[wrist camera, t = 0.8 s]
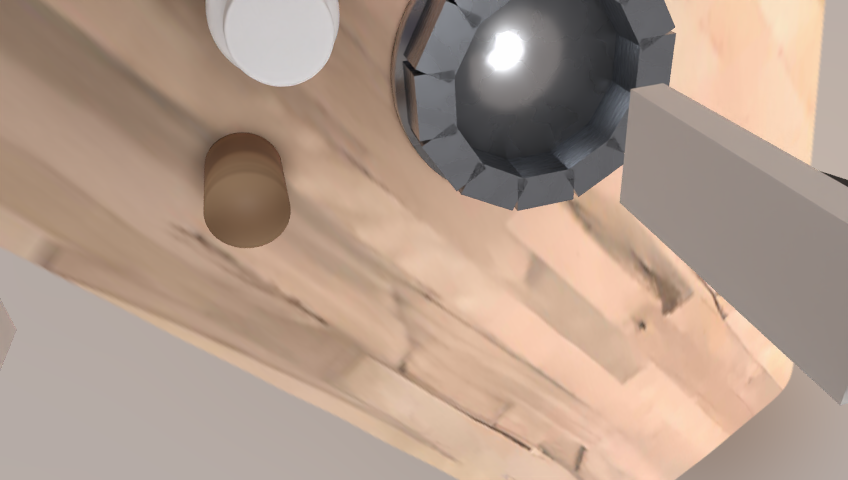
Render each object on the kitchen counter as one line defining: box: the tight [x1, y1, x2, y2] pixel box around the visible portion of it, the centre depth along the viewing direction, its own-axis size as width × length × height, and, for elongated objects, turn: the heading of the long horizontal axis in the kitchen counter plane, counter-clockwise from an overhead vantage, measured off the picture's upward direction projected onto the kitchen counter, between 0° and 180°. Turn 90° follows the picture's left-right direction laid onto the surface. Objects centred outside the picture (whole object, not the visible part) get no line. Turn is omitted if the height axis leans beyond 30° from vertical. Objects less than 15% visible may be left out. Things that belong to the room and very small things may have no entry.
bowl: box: [391, 0, 676, 211], centre depth 35 cm, size 15×15×4 cm
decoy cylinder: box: [204, 133, 290, 248], centre depth 34 cm, size 4×4×5 cm
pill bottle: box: [205, 0, 340, 87], centre depth 28 cm, size 5×5×9 cm
